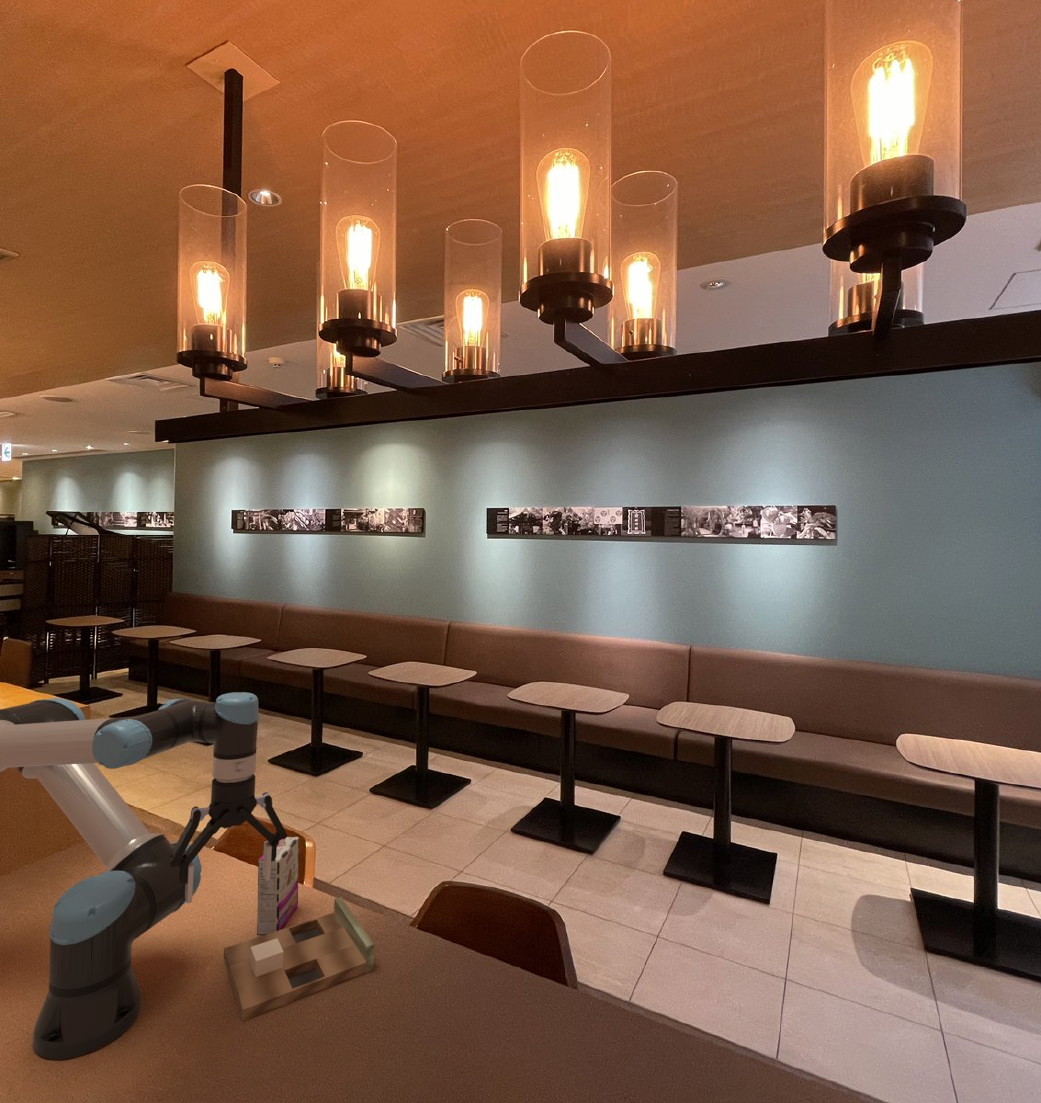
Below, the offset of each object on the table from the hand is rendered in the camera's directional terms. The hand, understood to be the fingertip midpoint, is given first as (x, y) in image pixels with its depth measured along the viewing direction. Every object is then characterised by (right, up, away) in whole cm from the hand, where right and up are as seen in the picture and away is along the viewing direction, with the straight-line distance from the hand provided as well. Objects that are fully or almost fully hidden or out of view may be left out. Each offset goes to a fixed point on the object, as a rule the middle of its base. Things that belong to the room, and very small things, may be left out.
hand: (228, 888), depth 112 cm
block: (+6, -17, +3) cm, 18 cm away
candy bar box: (+1, -19, +21) cm, 28 cm away
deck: (+11, -19, +6) cm, 23 cm away
